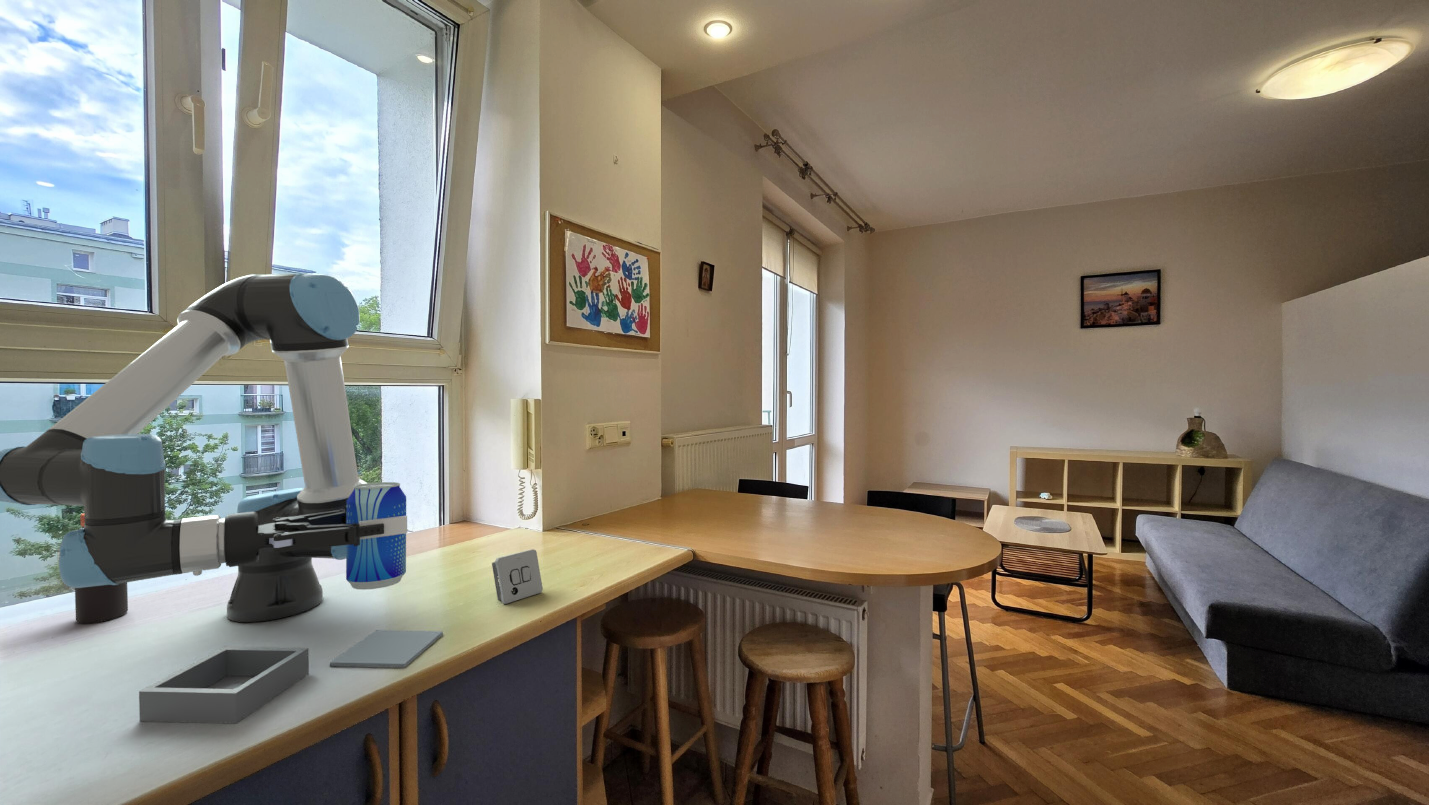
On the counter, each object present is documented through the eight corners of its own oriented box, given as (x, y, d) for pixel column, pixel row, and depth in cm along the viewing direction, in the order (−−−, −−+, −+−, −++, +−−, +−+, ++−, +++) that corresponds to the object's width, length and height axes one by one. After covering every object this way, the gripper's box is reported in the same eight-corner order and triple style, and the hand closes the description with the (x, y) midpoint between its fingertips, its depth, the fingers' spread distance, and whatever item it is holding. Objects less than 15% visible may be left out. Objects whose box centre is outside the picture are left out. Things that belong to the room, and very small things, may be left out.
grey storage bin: (139, 721, 76) (138, 691, 76) (226, 672, 89) (225, 646, 89) (236, 723, 76) (235, 693, 76) (308, 673, 89) (308, 648, 89)
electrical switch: (503, 606, 116) (501, 559, 117) (490, 602, 120) (487, 557, 120) (543, 593, 124) (541, 549, 124) (529, 590, 127) (527, 547, 127)
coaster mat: (329, 666, 91) (329, 662, 91) (376, 633, 103) (376, 630, 103) (404, 667, 91) (404, 663, 91) (442, 634, 103) (442, 631, 103)
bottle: (76, 617, 110) (73, 512, 109) (127, 607, 115) (124, 507, 114) (75, 627, 105) (72, 518, 104) (128, 617, 110) (126, 512, 109)
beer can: (358, 577, 97) (358, 482, 98) (412, 574, 99) (412, 480, 99) (336, 592, 89) (337, 488, 89) (396, 589, 91) (397, 487, 91)
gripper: (228, 549, 91) (391, 528, 105) (219, 588, 74) (414, 556, 88) (227, 502, 91) (390, 487, 105) (217, 530, 74) (413, 507, 88)
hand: (401, 518), depth 96 cm, fingers closed on beer can, 8 cm apart
